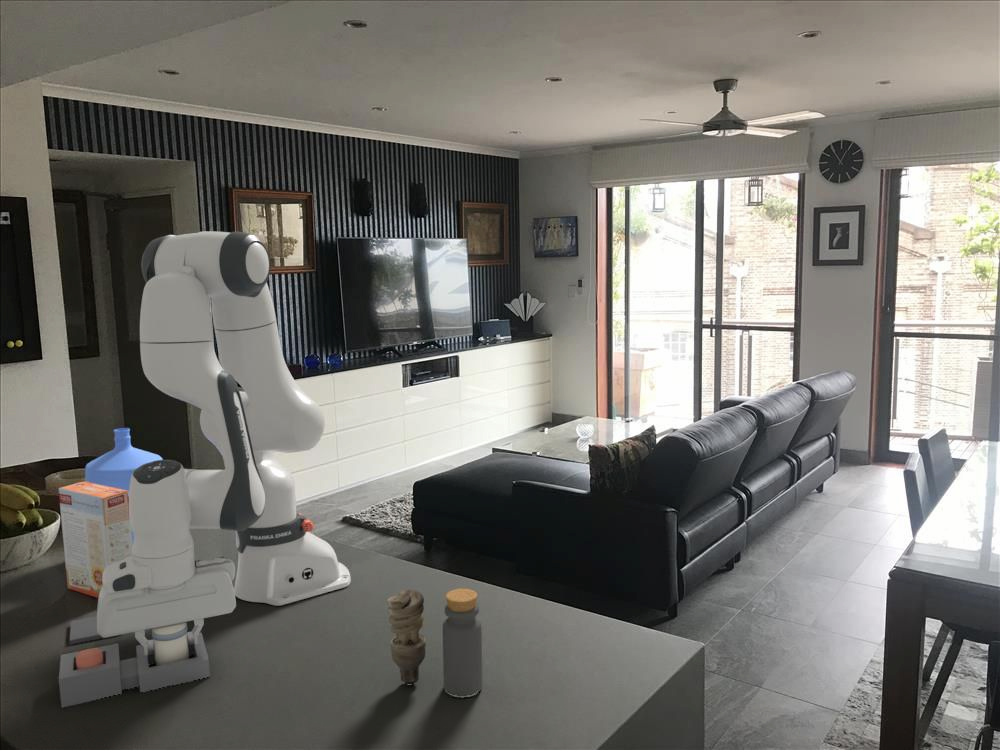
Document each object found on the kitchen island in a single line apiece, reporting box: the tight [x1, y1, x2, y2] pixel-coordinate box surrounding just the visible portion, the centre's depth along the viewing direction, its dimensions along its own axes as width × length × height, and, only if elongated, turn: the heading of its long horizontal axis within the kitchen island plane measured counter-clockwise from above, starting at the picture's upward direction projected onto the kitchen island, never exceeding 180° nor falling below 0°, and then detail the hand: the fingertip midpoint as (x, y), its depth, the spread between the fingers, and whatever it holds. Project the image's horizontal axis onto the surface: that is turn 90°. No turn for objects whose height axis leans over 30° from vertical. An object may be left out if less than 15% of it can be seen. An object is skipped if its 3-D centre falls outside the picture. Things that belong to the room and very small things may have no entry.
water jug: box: [84, 427, 164, 547], centre depth 175 cm, size 16×16×28 cm
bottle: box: [442, 588, 483, 696], centre depth 121 cm, size 6×6×15 cm
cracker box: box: [58, 481, 133, 599], centre depth 157 cm, size 14×6×21 cm, turn 59°
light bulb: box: [386, 589, 427, 685], centre depth 122 cm, size 6×6×15 cm
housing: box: [58, 632, 211, 709], centre depth 125 cm, size 20×10×4 cm, turn 116°
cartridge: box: [151, 622, 190, 667], centre depth 127 cm, size 5×5×8 cm
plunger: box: [76, 647, 103, 670], centre depth 122 cm, size 4×4×5 cm
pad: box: [69, 615, 104, 645], centre depth 142 cm, size 8×8×1 cm
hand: (171, 648), depth 127 cm, fingers closed on cartridge, 5 cm apart
